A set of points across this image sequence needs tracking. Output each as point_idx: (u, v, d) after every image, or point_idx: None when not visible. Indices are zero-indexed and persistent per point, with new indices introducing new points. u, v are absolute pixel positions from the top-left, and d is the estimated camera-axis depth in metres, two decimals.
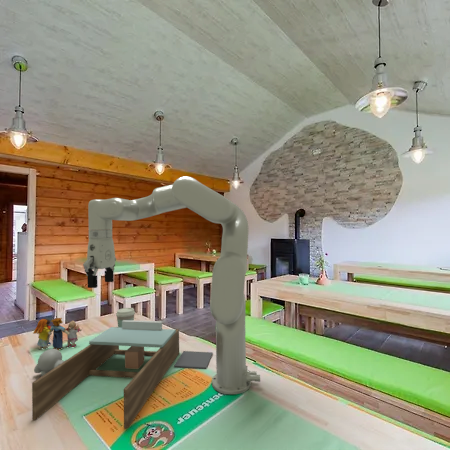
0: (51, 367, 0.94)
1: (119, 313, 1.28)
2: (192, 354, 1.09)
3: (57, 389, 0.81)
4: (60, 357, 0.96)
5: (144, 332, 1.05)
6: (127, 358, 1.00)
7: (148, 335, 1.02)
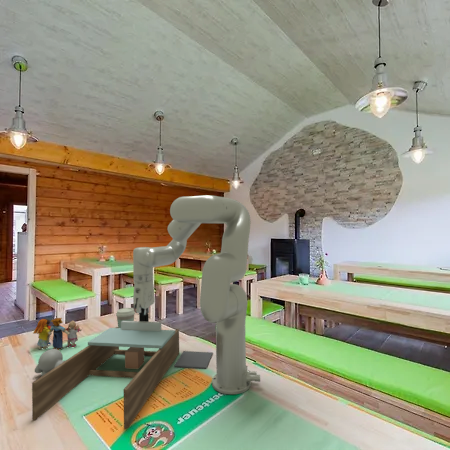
0: (52, 367, 0.93)
1: (119, 313, 1.28)
2: (192, 354, 1.09)
3: (57, 389, 0.81)
4: (61, 357, 0.96)
5: (143, 333, 1.04)
6: (127, 358, 1.00)
7: (147, 336, 1.01)
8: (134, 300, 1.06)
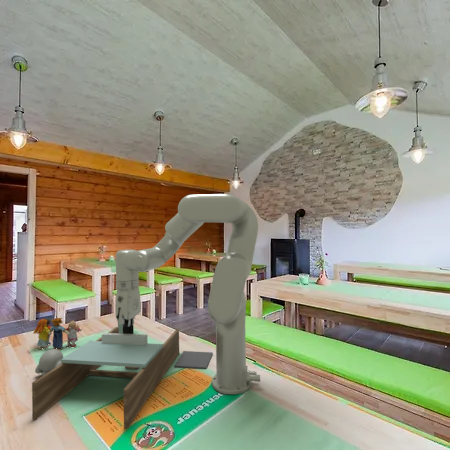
0: (52, 367, 0.93)
1: None
2: (192, 354, 1.09)
3: (57, 389, 0.81)
4: (61, 357, 0.96)
5: (126, 347, 0.91)
6: None
7: (130, 351, 0.88)
8: (116, 310, 0.93)
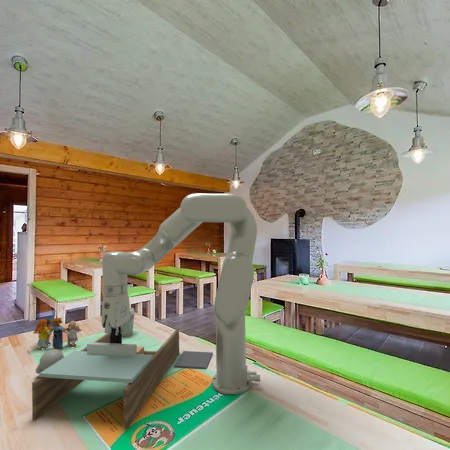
0: None
1: None
2: (192, 354, 1.09)
3: (57, 389, 0.81)
4: (62, 357, 0.96)
5: (113, 359, 0.83)
6: None
7: (117, 363, 0.80)
8: (102, 317, 0.85)
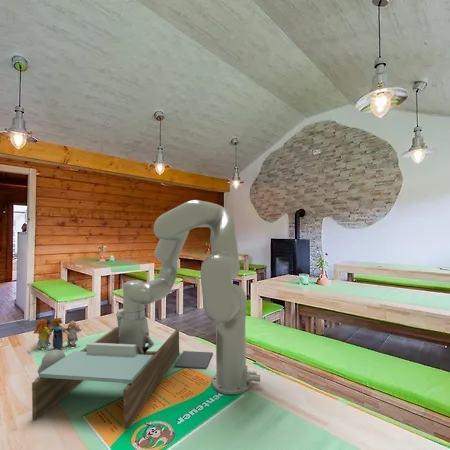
0: None
1: (119, 313, 1.28)
2: (192, 354, 1.09)
3: (57, 389, 0.81)
4: None
5: (113, 359, 0.83)
6: None
7: (116, 364, 0.80)
8: None
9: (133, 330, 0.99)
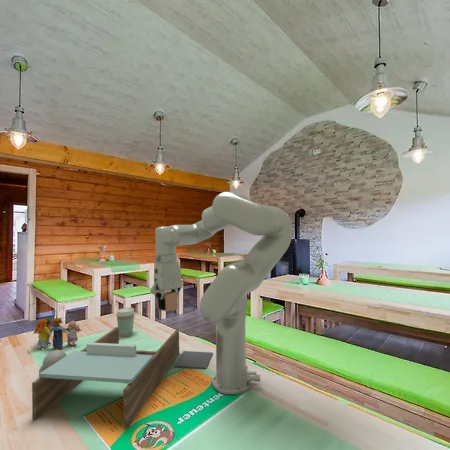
0: None
1: (119, 313, 1.28)
2: (192, 354, 1.09)
3: (57, 389, 0.81)
4: None
5: (113, 359, 0.83)
6: (169, 301, 1.01)
7: (116, 364, 0.80)
8: (154, 281, 1.01)
9: (173, 272, 1.03)
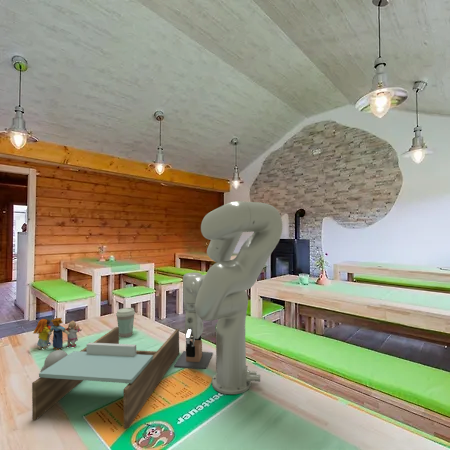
0: None
1: (119, 313, 1.28)
2: None
3: (57, 389, 0.81)
4: None
5: (113, 359, 0.83)
6: (199, 351, 1.03)
7: (116, 364, 0.80)
8: (186, 330, 1.00)
9: None
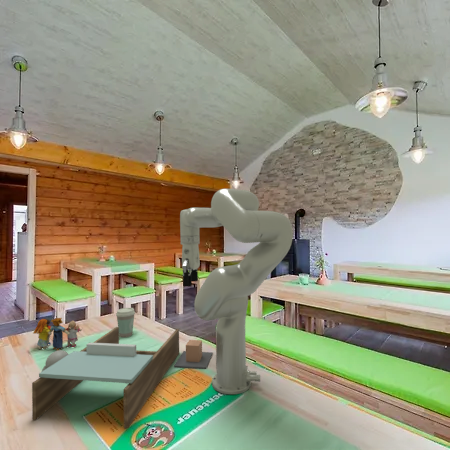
0: None
1: (119, 313, 1.28)
2: None
3: (57, 389, 0.81)
4: None
5: (113, 359, 0.83)
6: (199, 351, 1.03)
7: (116, 364, 0.80)
8: (183, 261, 1.05)
9: (197, 252, 1.10)
